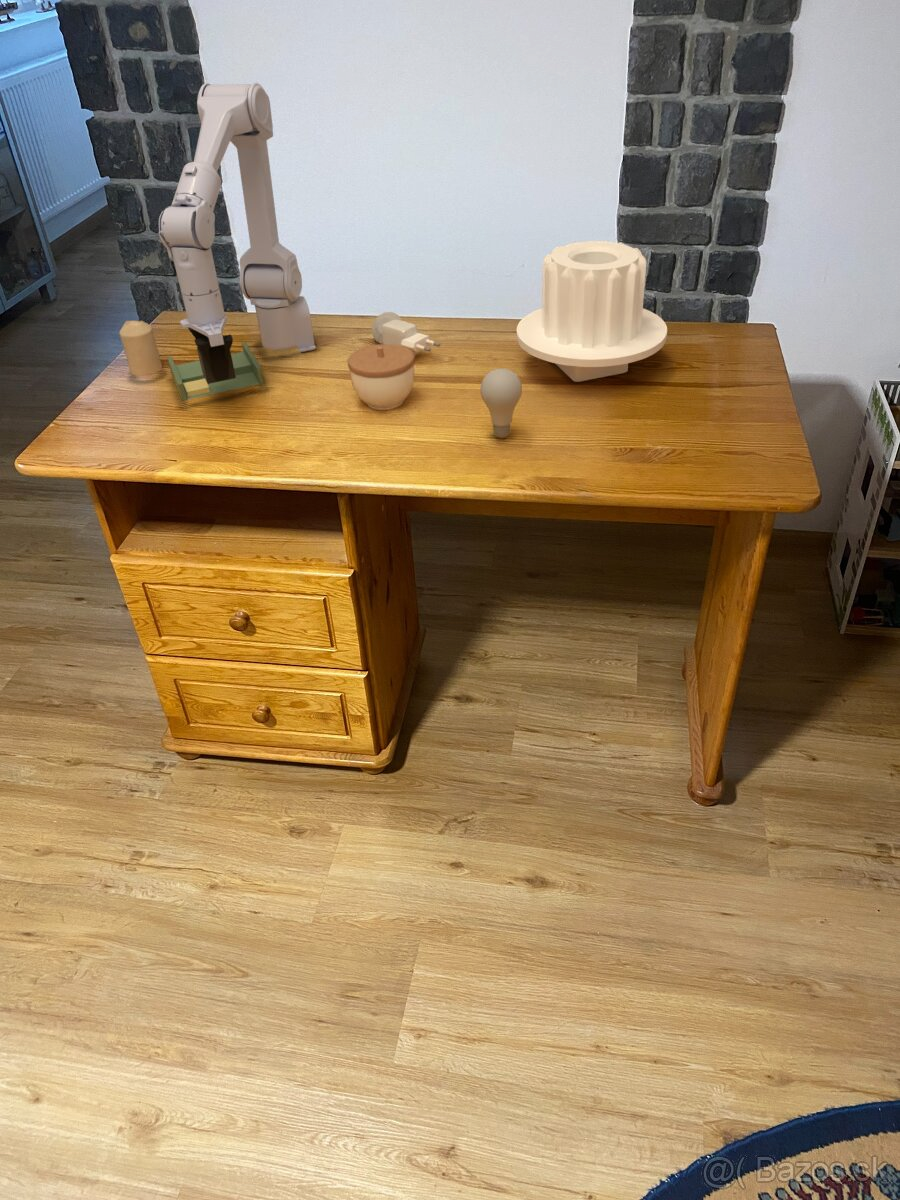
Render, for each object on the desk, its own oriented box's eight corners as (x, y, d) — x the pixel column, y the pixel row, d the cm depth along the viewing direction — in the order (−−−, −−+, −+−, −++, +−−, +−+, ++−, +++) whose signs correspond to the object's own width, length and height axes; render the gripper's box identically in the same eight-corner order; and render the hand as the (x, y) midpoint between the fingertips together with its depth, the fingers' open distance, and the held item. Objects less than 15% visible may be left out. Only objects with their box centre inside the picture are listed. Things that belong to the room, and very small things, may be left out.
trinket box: (428, 392, 152) (424, 338, 146) (399, 421, 145) (393, 365, 139) (372, 383, 156) (366, 330, 150) (341, 410, 149) (333, 356, 143)
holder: (230, 367, 150) (224, 341, 147) (236, 378, 146) (230, 351, 144) (202, 373, 148) (196, 347, 146) (207, 384, 145) (201, 357, 142)
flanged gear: (621, 328, 169) (629, 222, 157) (690, 382, 150) (705, 267, 138) (496, 351, 164) (494, 244, 152) (551, 410, 145) (553, 293, 133)
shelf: (250, 364, 165) (246, 341, 162) (265, 390, 156) (261, 367, 153) (172, 380, 161) (167, 357, 159) (183, 407, 152) (177, 384, 150)
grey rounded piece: (409, 316, 172) (400, 307, 167) (410, 348, 171) (401, 340, 167) (378, 320, 173) (369, 312, 168) (379, 352, 173) (370, 344, 168)
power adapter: (445, 360, 162) (443, 329, 158) (427, 370, 159) (424, 338, 155) (398, 346, 168) (396, 315, 164) (380, 355, 165) (377, 324, 161)
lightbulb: (509, 451, 136) (509, 382, 129) (474, 441, 138) (472, 374, 131) (529, 433, 139) (529, 366, 133) (494, 424, 142) (493, 358, 135)
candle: (168, 369, 165) (154, 315, 159) (157, 382, 161) (142, 327, 154) (139, 369, 166) (124, 315, 159) (127, 382, 161) (112, 328, 155)
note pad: (206, 383, 156) (205, 378, 156) (210, 392, 153) (209, 387, 153) (184, 388, 155) (182, 382, 155) (187, 397, 152) (186, 391, 152)
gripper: (166, 279, 143) (186, 361, 151) (181, 309, 132) (202, 395, 141) (211, 271, 145) (228, 352, 153) (229, 301, 134) (246, 386, 143)
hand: (218, 372), depth 147 cm, fingers closed on holder, 4 cm apart
